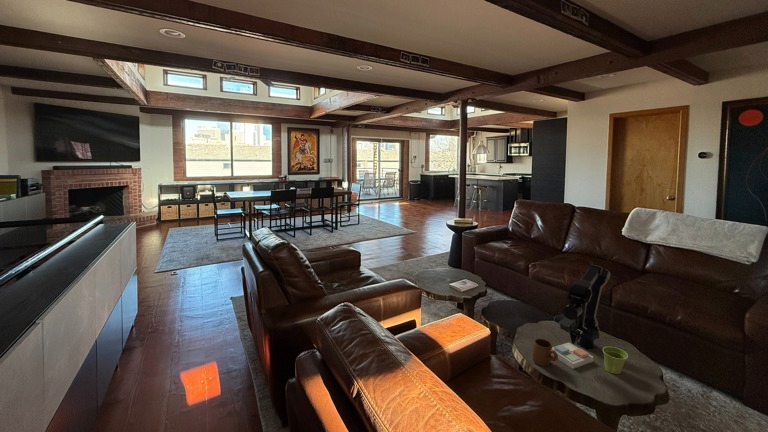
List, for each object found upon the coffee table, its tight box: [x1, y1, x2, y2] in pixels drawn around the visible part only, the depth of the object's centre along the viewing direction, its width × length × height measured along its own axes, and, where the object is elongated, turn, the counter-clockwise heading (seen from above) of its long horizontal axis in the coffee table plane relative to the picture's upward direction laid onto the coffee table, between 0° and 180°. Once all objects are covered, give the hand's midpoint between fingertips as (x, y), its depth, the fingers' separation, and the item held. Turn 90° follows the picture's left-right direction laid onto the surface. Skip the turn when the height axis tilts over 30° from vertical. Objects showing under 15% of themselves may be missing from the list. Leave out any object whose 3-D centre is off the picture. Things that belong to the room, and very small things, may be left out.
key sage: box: [565, 353, 580, 362], centre depth 165 cm, size 4×4×2 cm
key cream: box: [564, 344, 577, 352], centre depth 172 cm, size 4×4×2 cm
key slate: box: [553, 344, 569, 355], centre depth 170 cm, size 4×4×2 cm
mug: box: [532, 338, 558, 367], centre depth 163 cm, size 12×8×9 cm, turn 22°
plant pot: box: [602, 346, 629, 375], centre depth 159 cm, size 9×9×9 cm
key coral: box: [573, 347, 590, 359], centre depth 167 cm, size 4×4×2 cm
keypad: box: [551, 342, 594, 370], centre depth 169 cm, size 13×13×3 cm
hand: (573, 343), depth 163 cm, fingers closed
